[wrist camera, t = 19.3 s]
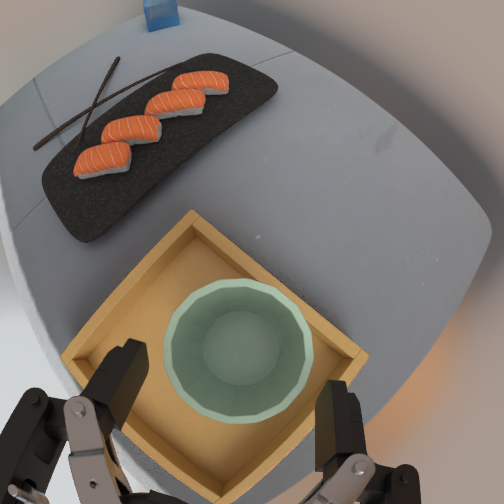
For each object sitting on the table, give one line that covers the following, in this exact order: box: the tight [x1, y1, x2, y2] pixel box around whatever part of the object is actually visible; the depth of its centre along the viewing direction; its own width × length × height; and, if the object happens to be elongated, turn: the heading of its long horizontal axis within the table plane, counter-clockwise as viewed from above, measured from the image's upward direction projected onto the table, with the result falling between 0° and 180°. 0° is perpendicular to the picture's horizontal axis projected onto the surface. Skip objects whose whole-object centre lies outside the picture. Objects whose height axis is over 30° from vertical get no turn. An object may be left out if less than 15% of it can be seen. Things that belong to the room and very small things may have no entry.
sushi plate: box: [33, 53, 278, 243], centre depth 28 cm, size 29×30×4 cm
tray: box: [60, 209, 370, 504], centre depth 19 cm, size 18×17×3 cm
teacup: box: [163, 278, 314, 424], centre depth 16 cm, size 7×7×10 cm
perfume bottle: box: [143, 0, 179, 32], centre depth 34 cm, size 6×6×12 cm
